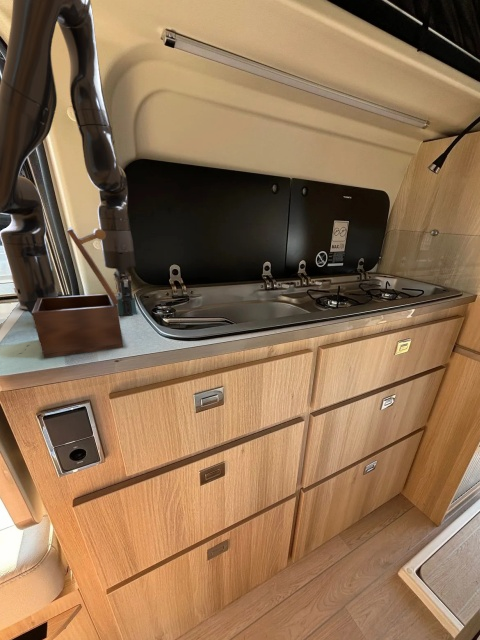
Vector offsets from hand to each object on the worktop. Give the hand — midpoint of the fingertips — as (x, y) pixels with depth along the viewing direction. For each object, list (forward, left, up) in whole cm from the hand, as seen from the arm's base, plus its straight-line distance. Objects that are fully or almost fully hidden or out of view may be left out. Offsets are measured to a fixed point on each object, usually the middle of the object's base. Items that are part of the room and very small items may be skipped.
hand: (126, 311), depth 83 cm
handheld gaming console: (+3, -15, -1) cm, 15 cm away
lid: (+20, -7, +15) cm, 26 cm away
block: (0, 0, 0) cm, 0 cm away
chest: (+20, -11, 0) cm, 23 cm away
